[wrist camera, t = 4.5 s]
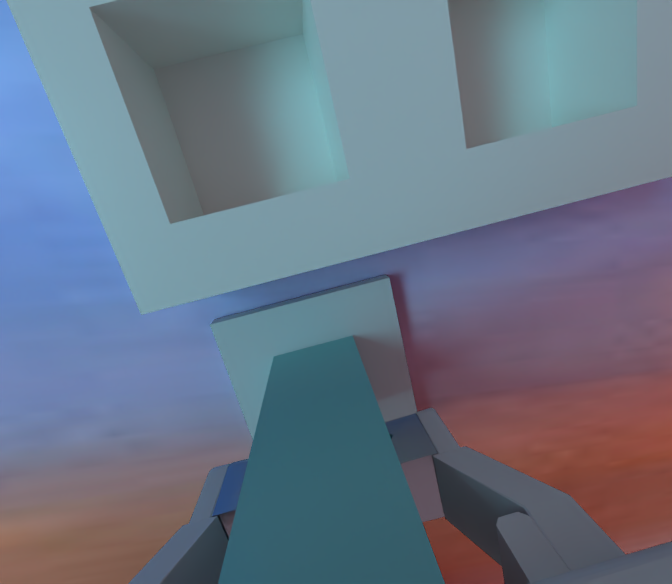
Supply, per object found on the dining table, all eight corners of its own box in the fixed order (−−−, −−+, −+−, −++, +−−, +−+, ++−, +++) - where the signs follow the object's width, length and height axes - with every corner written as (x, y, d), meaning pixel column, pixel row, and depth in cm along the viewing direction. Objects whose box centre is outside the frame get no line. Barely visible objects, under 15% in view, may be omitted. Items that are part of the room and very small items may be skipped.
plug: (369, 404, 13) (542, 931, 3) (296, 424, 13) (260, 1022, 3) (352, 335, 12) (515, 772, 3) (273, 356, 12) (143, 885, 3)
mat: (416, 420, 14) (420, 429, 14) (266, 462, 14) (265, 472, 13) (385, 274, 13) (389, 277, 12) (214, 319, 12) (209, 324, 12)
